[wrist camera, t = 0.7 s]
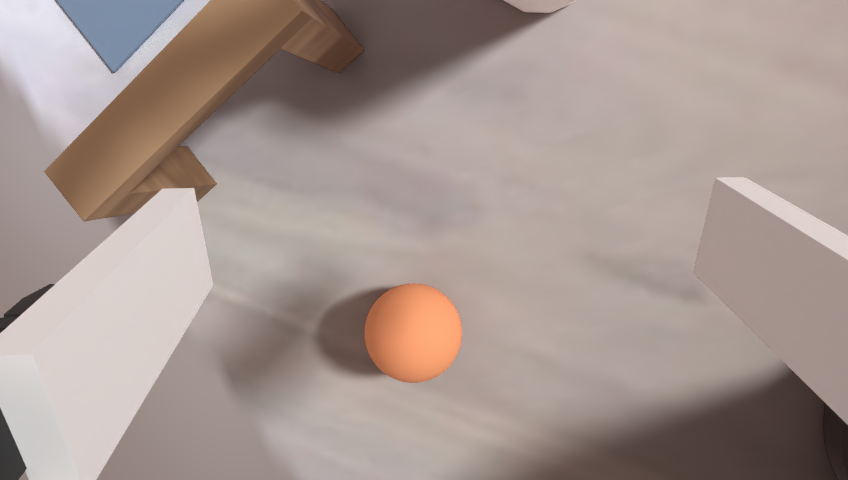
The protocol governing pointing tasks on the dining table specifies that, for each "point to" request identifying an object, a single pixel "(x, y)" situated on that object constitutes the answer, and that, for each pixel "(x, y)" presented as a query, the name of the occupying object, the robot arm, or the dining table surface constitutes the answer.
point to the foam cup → (539, 5)
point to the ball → (413, 333)
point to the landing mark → (118, 24)
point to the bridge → (188, 101)
